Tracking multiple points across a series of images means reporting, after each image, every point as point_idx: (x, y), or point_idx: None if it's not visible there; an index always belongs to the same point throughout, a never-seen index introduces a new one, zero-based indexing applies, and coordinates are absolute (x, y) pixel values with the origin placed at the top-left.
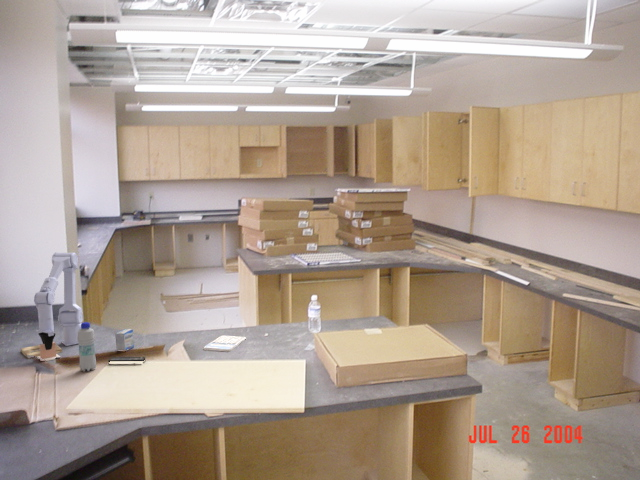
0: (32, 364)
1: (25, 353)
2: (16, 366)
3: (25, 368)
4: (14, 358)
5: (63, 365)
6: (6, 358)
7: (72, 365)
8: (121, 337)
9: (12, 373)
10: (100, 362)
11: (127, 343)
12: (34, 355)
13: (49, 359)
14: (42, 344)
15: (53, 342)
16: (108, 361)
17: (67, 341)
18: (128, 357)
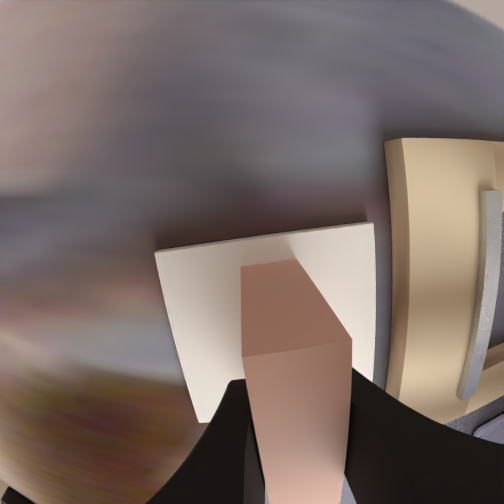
0: (134, 157)
1: (491, 141)
2: (170, 15)
3: (51, 99)
4: (457, 53)
5: (12, 379)
6: (476, 18)
7: (6, 412)
8: None
9: (10, 27)
10: (36, 491)
11: None
12: (402, 208)
13: (173, 336)
14: (320, 392)
15: (316, 502)
16: (3, 496)
17: (498, 442)
18: None
